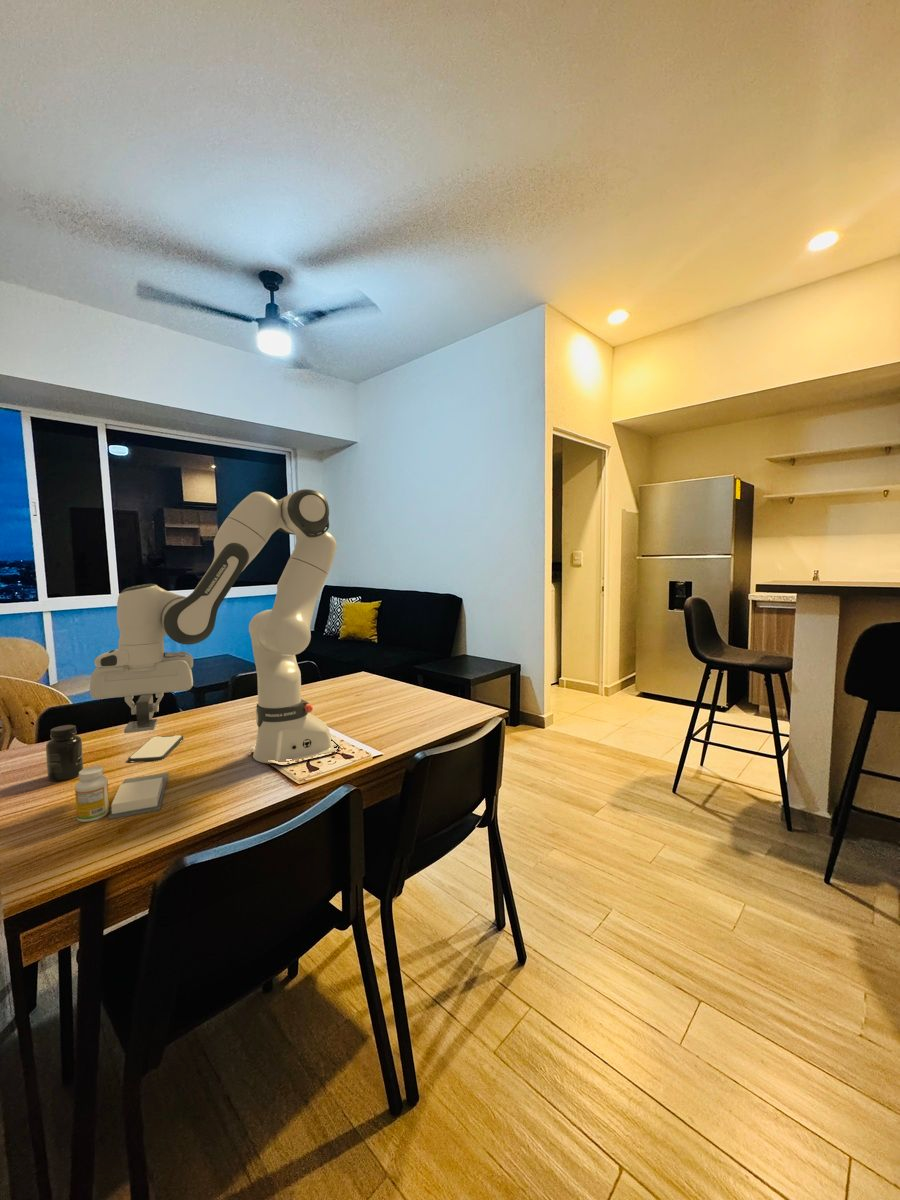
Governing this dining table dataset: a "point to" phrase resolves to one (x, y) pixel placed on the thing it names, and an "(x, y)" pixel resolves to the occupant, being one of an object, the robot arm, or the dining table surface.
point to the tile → (137, 796)
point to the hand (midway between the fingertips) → (145, 712)
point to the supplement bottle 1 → (64, 753)
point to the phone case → (156, 748)
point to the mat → (164, 781)
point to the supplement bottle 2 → (91, 794)
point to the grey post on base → (142, 716)
